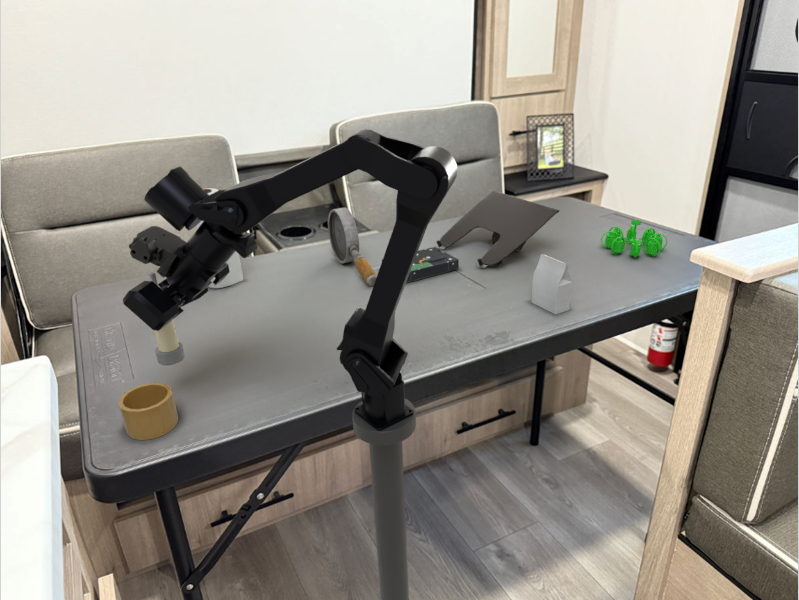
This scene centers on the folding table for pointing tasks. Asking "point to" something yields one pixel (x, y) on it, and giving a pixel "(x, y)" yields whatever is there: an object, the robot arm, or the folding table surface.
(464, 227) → the laptop tray
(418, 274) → the disk drive
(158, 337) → the kitchen roll stand
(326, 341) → the folding table surface
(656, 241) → the chandelier
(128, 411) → the holder
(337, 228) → the magnifying glass
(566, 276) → the white gabled box
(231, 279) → the paper towel roll
